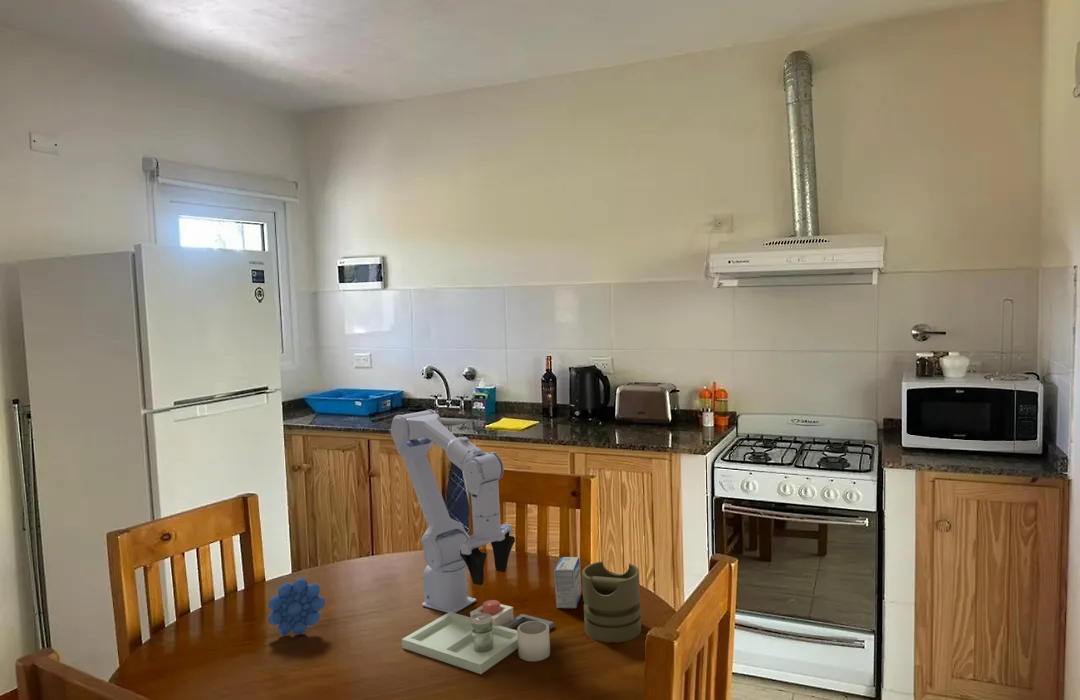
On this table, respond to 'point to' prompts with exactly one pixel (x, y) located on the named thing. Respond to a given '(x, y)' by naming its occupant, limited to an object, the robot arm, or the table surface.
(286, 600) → the blue flower
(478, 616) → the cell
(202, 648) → the table surface
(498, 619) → the frame
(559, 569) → the medicine box
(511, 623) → the cradle
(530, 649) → the cup
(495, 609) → the button
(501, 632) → the trough tray
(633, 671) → the table surface
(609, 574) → the piston
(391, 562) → the table surface
